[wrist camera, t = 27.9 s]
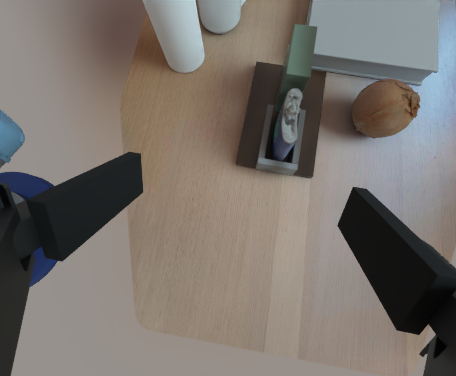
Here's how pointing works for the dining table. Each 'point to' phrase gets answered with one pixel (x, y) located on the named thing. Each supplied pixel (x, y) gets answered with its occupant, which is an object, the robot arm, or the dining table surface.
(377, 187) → the dining table surface
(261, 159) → the brown board with holder
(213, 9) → the mug
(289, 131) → the flask
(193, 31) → the cup
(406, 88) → the onion
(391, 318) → the robot arm
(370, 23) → the book
